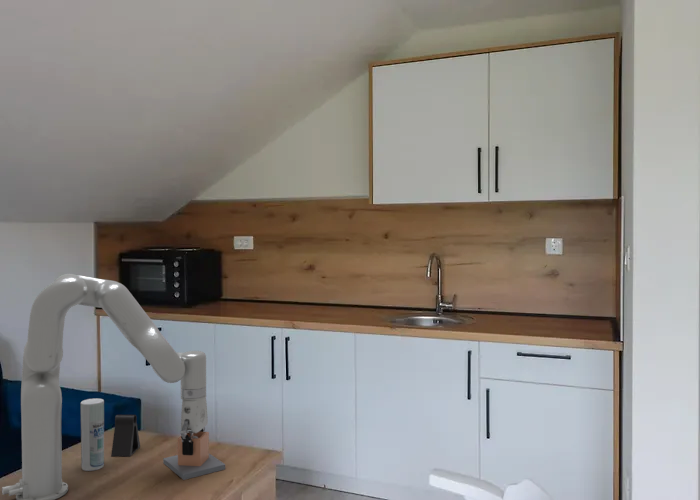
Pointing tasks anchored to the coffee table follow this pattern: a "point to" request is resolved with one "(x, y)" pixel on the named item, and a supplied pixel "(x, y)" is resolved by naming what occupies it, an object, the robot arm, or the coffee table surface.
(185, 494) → the coffee table surface
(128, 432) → the phone stand
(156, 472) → the coffee table surface
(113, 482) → the coffee table surface
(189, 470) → the peg on grey base
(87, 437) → the spray can
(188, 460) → the sleeve
